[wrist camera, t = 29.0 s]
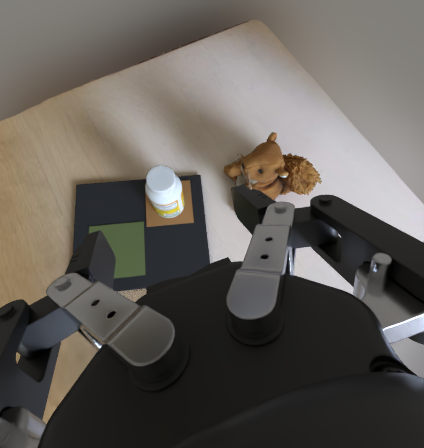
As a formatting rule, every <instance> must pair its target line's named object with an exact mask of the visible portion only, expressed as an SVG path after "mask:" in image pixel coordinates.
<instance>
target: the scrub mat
mask: <svg viewBox="0 0 424 448" xmlns="http://www.w3.org/2000/svg"><path fill="white" fill-rule="evenodd" d="M178 178H179V179H180V181H181V184H182V189H183V196H184V208H183V210H182V212H181V213H180V214H179V215H177V216H175V217H172V218H165V217H162V216H160V215H159V214H158V213H157V212H156V211H155V209H154V207H153V205H152V203H151V201H150V200H149V198H148V196H147V193H146V179H143V180H131V181H118V182H105V183H92V184H80V185H76V205H75V224H74V244H73V253H74V251H75V250H76V249H77V248H78V247H79V246H80V245H82V244H83V242H84V239H85V236H86V234H89V233H92V232H95V231H99V230H101V231H102V232H103V234H104V236H105V237H106V239H107V241H108V243H109V245H110V247H111V248H112V250H113V252H114V255H115V259H116V264H115V272H114V281H113V290H115V291H124V290H133V289H141V288H146V287H148V286H151V285H154V284H157V283H159V282H162V281H165V280H168V279H173V278H179V277H184V276H189V275H191V274H193V273H195V272H196V271H198V270H200V269H202V268H203V267H205V266H207V265H208V264H210V260H209V251H208V241H207V232H206V223H205V214H204V204H203V195H202V186H201V177H200V175H194V176H181V177H178Z"/></svg>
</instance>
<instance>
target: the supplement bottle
mask: <svg viewBox="0 0 424 448" xmlns="http://www.w3.org/2000/svg"><path fill="white" fill-rule="evenodd" d="M146 193H147V196H148V198H149V200H150V201H151V203H152V205H153V207H154V209H155V211H156V212H157V213H158V214H159V215H160V216H162V217H165V218H172V217H175V216H177V215H179V214H180V213H181V212H182V210H183V208H184V196H183V189H182V184H181V181H180V179H179V178H178V176H177V175H175V173H174V172H173V170H172V169H170V168H169V167H167V166H163V165H159V166H155V167H153V168H152V169H150V170H149V172H148V173H147V176H146Z"/></svg>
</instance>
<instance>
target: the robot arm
mask: <svg viewBox="0 0 424 448" xmlns="http://www.w3.org/2000/svg"><path fill="white" fill-rule="evenodd" d="M231 191H232V197H233V203H234V208H235V213H236V215H237V218H238V219H239V220H240V221H241V223H242V224H243V225H244V226H245V227H246V228H247V229H248V231H249V232H250V233H251V234H252V235H253V236H252V238H251V241H250V244H249V247H248V250H247V252H246V255H245V258H244V261H239V262H231V261H230V259H229V258H228V257H227V258H225V259H222V260H219V261H216V262H214V263H211V264H208V265H207V266H205V267H203V268H202V269H200V270H198V271H196V272H195V273H193V274H191V275H189V276H184V277H179V278H173V279H168V280H165V281H162V282H159V283H157V284H154V285H151V286H148V287H146V290H147V294H146V295H144V296H142V297H141V298H140V299H138V300H137V301H136V302H133V301H131V300H130V299H128V298H126V297H125V296H123V295H121V294H120V293H118V292H116V291H115V290H113V281H114V272H115V264H116V259H115V255H114V252H113V250H112V248H111V247H110V245H109V243H108V241H107V239H106V237H105V236H104V234H103V232H102V231H101V230H99V231H95V232H92V233H89V234H86V236H85V239H84V242H83V244H82V245H80V246H79V247H78V248H77V249H76V250H75V251H74V253H73V255H72V259H71V260H70V263H69V265H68V267H67V270H66V272H65V275H63V276H61V277H59V278H58V279H56V280H55V281H53V282H52V283H51V284H50V285H49V287H48V288H47V290H46V294H47V296H46V297H44V298H42V299H40V300H38V301H37V302H35V303H33V304H31V305H28V304H27V303H26V302H25V301H24V300H15V301H12V302H10V303H8V304H6V305H4V306H3V307H1V308H0V448H424V378H422V377H419V376H417V375H416V374H414V373H413V372H412V371H411V370H409V369H408V368H407V367H406V366H405V365H404V364H403V362H402V361H401V360H400V359H399V357H398V356H397V354H396V353H395V352H394V350H393V349H392V347H391V345H390V344H392V343H395V342H397V341H400V340H403V339H405V338H410V339H411V340H413V341H415V342H418V343H420V344H424V243H423V242H421V241H419V240H417V239H416V238H414V237H412V236H410V235H408V234H406V233H404V232H402V231H400V230H399V229H397V228H395V227H393V226H391V225H389V224H387V223H385V222H384V221H382V220H380V219H378V218H376V217H374V216H372V215H370V214H369V213H367V212H365V211H363V210H361V209H359V208H357V207H355V206H353V205H352V204H350V203H348V202H346V201H344V200H342V199H340V198H338V197H336V196H333V195H319V196H316V197H314V198H312V199H311V201H310V207H303V208H295V207H294V205H293V204H291V203H289V202H276V201H274V200H273V199H271V198H270V197H268V196H267V195H266V194H264V193H263V192H262V191H260V190H256V189H251V190H250V189H249V188H248V187H246V186H245V185H244V184H242V185H239V186H236V187H233V188H232V189H231ZM338 234H340V236H341V238H340V237H339V236H338ZM310 246H311V248H312V249H313V250H314V251H315V252H316V253H317V254H319V255H320V256H321V257H322V258H323V259H324V260H325V261H326V262H327V263H328V264H329V265H330V266H331V267H332V268H334V269H335V270H336V271H337V272H338V273H339V274H340V275H341V276H342V277H343V278H344V279H345V280H346V281H347V282H349V283H350V284H351V285H352V286H353V287H354V289H353V294H354V295H352V294H350V293H348V292H345V291H343V290H340V289H337V288H333V287H330V286H327V285H324V284H320V283H317V282H314V281H310V280H307V279H304V278H301V277H297V276H294V266H295V257H296V248H302V247H310ZM76 331H78V333H79V334H80V335H81V336H82V337H84V338H85V339H86V340H87V341H88V342H89V343H90V344H91V345H92V346H93V347H94V348H95V349H96V350H97V351H98V352H97V353H96V354H95V356H94V357H93V359H92V360H91V361H90V363H89V364H88V365H87V367H86V368H85V370H84V371H83V372H82V374H81V375H80V377H79V378H78V379H77V381H76V382H75V383H74V385H73V386H72V388H71V389H70V390H69V392H68V393H67V395H66V396H65V397H64V399H63V400H62V401H61V403H60V404H59V406H58V407H57V408H56V410H55V411H54V413H53V414H52V416H51V417H50V419H49V421H48V423H47V424H46V423H45V422H44V421H43V420H42V419H43V415H44V410H45V406H46V402H47V398H48V394H49V390H50V386H51V381H52V377H53V373H54V369H55V365H56V361H57V357H58V352H59V348H60V344H61V341H62V340H63V339H65V338H67V337H68V336H70V335H71V334H73V333H74V332H76ZM16 352H18V353H19V354H20V355H21V356H20V359H19V361H18V364H17V363H16Z"/></svg>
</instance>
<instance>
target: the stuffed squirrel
mask: <svg viewBox="0 0 424 448" xmlns="http://www.w3.org/2000/svg"><path fill="white" fill-rule="evenodd" d="M276 137H277V134H276V133H274V132H272V133H271V134H270V135H269V137H268V139H267V142H265V143H262V144H260V145H259V146H257V147H256V148H255V150H254V151H253V152H252V153H251V154H249V155H247V156H245V157H244V156H243V155H242V154H237V155H241V156H242V157H241V158H239V159H238V160H236V161H235V162H233V163H232V164H230V165H227V166H225V167H224V172H225V173H226V174H227V175H228V176H229V177H230V178H232V179H233V180H234V181H235V182H236V186H239V185H242V184H244V185H245V186H246V187H248V188H249V189H250V190H251V189H256V190H260V191H262V192H263V193H264V194H266V195H267V196H268V197H270V198H271V199H273V200H274V199H275V198H276V197H277V196H278V195H279V194H280V195H282V194H283V195H285V194H286V193H289V192H291V191H292V192H295V193H297V194H300V195H301V194H304V195H305V194H307V195H309V192H311V190H312V189H313V187H315V186H314V185H316V183H317V182H319V183H320V184H321V182H322V181H320V179H321V178H319V176H320V174H318V172H317V171H316V170H315V168H313V165H312V164H311V163H310V162H309V161H307V158H306V159H304V158H303V157H299V156H296V155H294V156H292V154H291V153H290V154H291V155H290V154H288V155H287V156H286V155H282V152H281V149H280V147H279V145H278V144H277V143H276V142H274V141H275V140H276Z"/></svg>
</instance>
